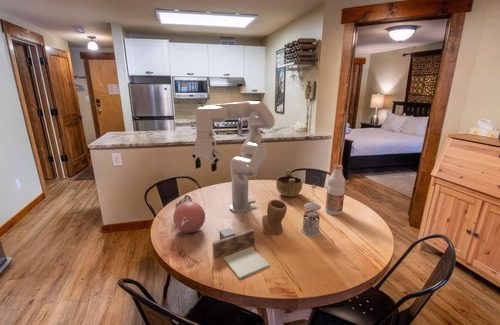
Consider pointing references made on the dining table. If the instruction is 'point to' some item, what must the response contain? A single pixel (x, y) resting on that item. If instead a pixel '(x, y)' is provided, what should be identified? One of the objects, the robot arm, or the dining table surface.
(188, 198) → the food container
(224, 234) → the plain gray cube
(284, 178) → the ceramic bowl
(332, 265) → the dining table surface
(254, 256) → the display mat
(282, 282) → the dining table surface
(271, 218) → the stone cup
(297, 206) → the dining table surface
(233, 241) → the walnut screen
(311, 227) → the french press
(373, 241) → the dining table surface
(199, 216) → the balloon
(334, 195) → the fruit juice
